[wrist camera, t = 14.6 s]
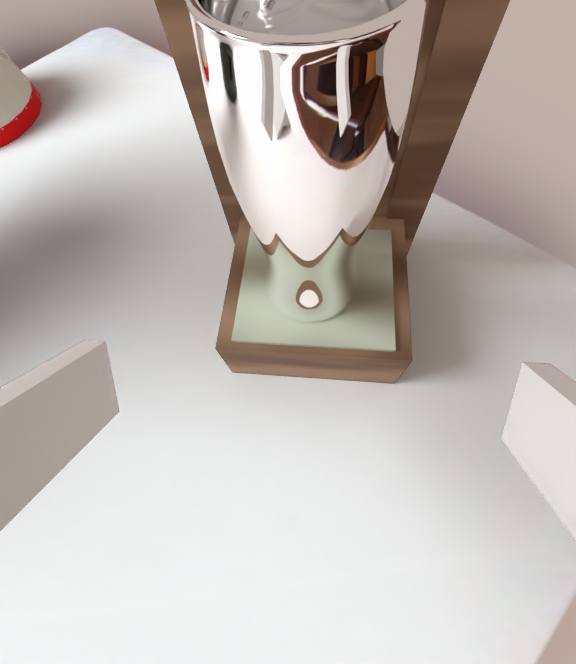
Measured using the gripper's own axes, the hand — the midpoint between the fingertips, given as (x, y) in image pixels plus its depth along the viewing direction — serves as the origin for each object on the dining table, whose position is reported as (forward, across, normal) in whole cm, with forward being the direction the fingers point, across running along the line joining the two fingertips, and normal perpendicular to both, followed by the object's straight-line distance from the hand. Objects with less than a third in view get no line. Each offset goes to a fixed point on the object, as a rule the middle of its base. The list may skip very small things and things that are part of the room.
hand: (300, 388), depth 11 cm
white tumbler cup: (+13, 0, +1) cm, 13 cm away
